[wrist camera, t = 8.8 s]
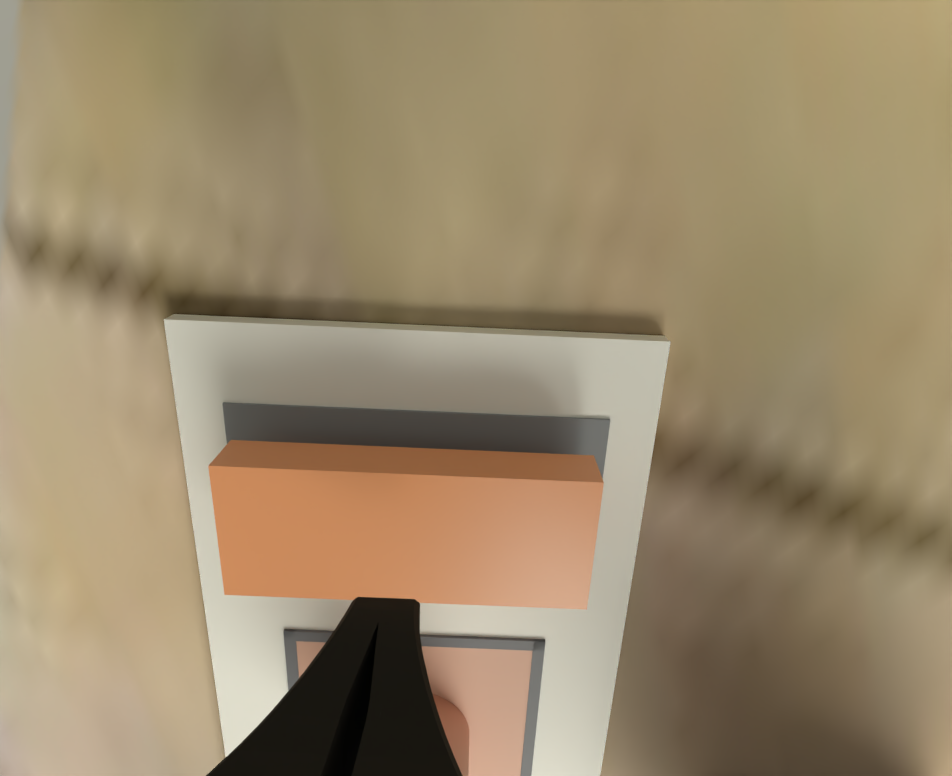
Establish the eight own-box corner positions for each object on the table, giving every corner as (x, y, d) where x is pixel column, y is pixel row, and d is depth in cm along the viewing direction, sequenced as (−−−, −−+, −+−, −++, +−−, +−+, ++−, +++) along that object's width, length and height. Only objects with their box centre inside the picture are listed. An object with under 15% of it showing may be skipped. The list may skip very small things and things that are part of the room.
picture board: (664, 335, 18) (671, 342, 17) (588, 815, 25) (591, 833, 24) (173, 314, 18) (161, 320, 17) (239, 801, 25) (232, 819, 24)
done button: (594, 455, 17) (603, 482, 16) (579, 574, 19) (586, 609, 17) (230, 439, 17) (208, 465, 16) (244, 561, 18) (224, 594, 17)
